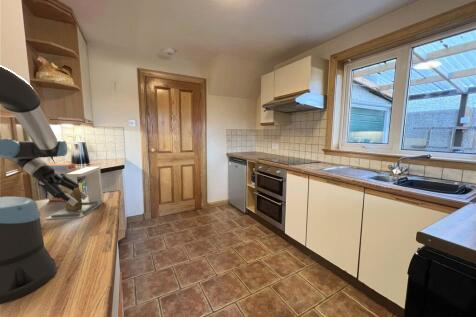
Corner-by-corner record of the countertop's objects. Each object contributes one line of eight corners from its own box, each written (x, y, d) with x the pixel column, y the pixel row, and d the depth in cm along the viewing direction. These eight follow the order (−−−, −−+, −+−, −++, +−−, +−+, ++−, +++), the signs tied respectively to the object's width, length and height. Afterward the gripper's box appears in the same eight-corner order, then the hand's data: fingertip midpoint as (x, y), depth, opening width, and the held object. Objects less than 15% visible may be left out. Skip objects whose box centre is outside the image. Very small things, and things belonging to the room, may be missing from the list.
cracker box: (80, 198, 120) (75, 163, 117) (71, 202, 114) (66, 165, 111) (58, 197, 122) (53, 162, 118) (48, 201, 116) (42, 164, 112)
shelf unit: (81, 217, 95) (75, 175, 91) (44, 219, 93) (38, 176, 90) (104, 201, 115) (100, 166, 112) (75, 202, 113) (70, 167, 110)
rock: (87, 205, 100) (90, 196, 108) (72, 194, 95) (76, 186, 104) (67, 221, 97) (71, 210, 106) (50, 210, 93) (56, 200, 101)
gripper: (50, 171, 107) (87, 199, 112) (14, 181, 87) (61, 214, 92) (60, 160, 107) (97, 189, 112) (26, 168, 87) (72, 203, 92)
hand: (80, 200), depth 102 cm, fingers closed on rock, 7 cm apart
